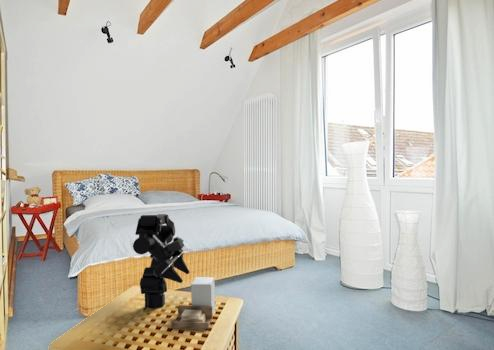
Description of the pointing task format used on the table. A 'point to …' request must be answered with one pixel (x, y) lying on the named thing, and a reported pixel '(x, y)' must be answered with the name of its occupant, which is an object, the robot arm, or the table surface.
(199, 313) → the offcut stack
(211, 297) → the supplement box
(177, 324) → the tray
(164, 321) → the table surface
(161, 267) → the robot arm
